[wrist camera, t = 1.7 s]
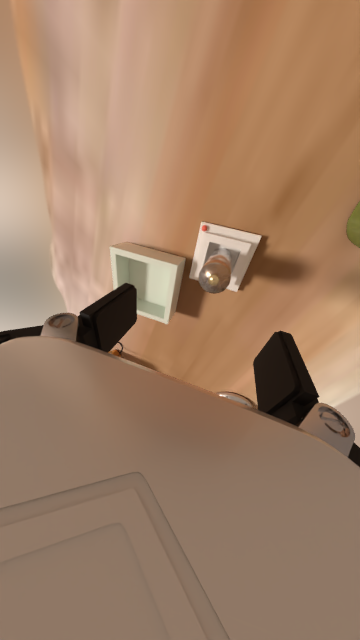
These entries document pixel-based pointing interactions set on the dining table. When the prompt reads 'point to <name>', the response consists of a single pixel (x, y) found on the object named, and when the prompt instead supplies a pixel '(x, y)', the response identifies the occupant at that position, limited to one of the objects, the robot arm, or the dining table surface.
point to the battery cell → (216, 271)
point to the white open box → (149, 278)
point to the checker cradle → (227, 238)
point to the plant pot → (354, 226)
